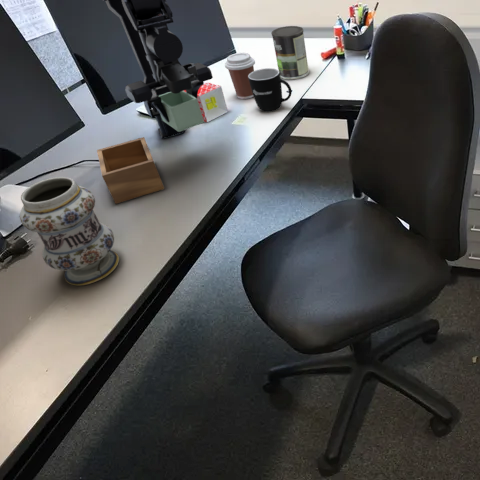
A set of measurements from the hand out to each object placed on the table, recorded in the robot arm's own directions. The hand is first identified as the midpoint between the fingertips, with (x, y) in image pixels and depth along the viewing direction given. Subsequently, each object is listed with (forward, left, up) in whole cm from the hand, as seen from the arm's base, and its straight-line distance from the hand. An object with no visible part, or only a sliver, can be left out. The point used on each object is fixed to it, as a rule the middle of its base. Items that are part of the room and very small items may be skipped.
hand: (181, 116), depth 117 cm
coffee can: (-39, +43, -12) cm, 59 cm away
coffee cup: (-32, +24, -12) cm, 41 cm away
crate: (+3, -15, -11) cm, 19 cm away
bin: (0, 0, -1) cm, 1 cm away
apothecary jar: (+31, -27, -12) cm, 43 cm away
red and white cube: (-25, +10, -12) cm, 29 cm away
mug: (-17, +28, -12) cm, 34 cm away
